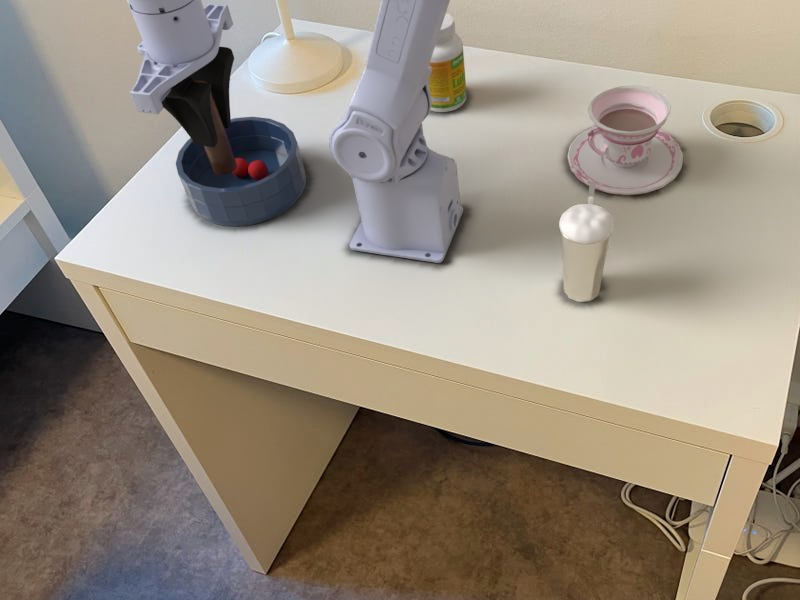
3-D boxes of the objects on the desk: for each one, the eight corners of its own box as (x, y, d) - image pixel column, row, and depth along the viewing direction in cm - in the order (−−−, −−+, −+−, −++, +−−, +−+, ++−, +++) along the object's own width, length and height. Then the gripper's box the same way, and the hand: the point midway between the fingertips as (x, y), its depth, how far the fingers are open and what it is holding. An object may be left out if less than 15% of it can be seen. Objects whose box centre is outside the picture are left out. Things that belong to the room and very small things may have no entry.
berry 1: (254, 170, 87) (249, 155, 86) (246, 182, 86) (241, 167, 85) (237, 168, 88) (232, 153, 86) (229, 180, 86) (224, 164, 85)
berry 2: (273, 173, 87) (268, 157, 85) (265, 185, 86) (260, 169, 84) (255, 170, 87) (250, 155, 86) (248, 182, 86) (242, 167, 85)
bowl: (323, 158, 89) (314, 123, 85) (278, 233, 82) (266, 199, 78) (222, 145, 91) (209, 111, 88) (169, 217, 84) (154, 183, 81)
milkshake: (611, 269, 76) (619, 184, 68) (603, 311, 73) (611, 227, 65) (562, 263, 77) (566, 178, 69) (553, 304, 74) (555, 220, 66)
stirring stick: (241, 161, 82) (213, 81, 75) (230, 176, 80) (201, 96, 73) (219, 158, 82) (190, 79, 75) (208, 173, 81) (178, 94, 74)
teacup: (632, 112, 91) (638, 62, 86) (706, 167, 85) (717, 116, 80) (544, 152, 88) (545, 102, 83) (615, 213, 81) (620, 162, 76)
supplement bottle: (461, 115, 93) (454, 35, 85) (415, 112, 93) (404, 32, 86) (471, 88, 96) (465, 8, 88) (426, 85, 97) (417, 6, 89)
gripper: (162, -48, 73) (209, 87, 83) (73, 39, 64) (138, 176, 75) (234, -42, 71) (273, 94, 82) (152, 47, 63) (207, 186, 73)
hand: (213, 134), depth 78 cm, fingers closed on stirring stick, 2 cm apart
